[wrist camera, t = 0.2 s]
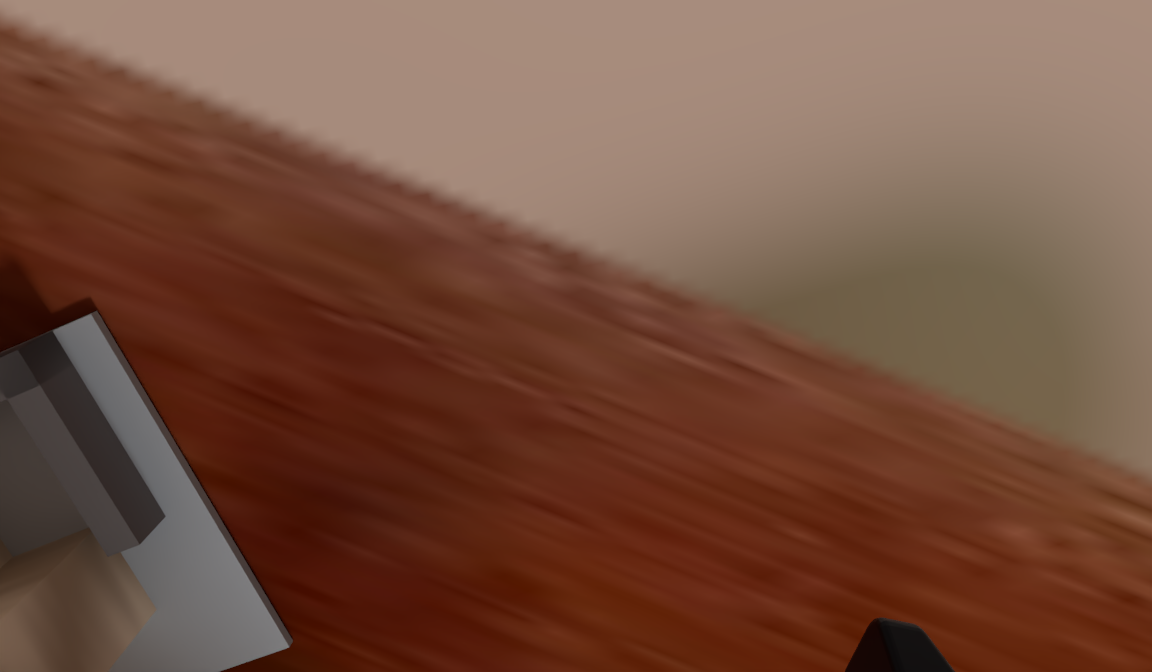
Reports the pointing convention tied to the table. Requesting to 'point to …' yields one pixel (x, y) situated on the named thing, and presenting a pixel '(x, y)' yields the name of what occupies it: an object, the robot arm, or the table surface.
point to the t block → (68, 607)
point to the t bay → (124, 500)
